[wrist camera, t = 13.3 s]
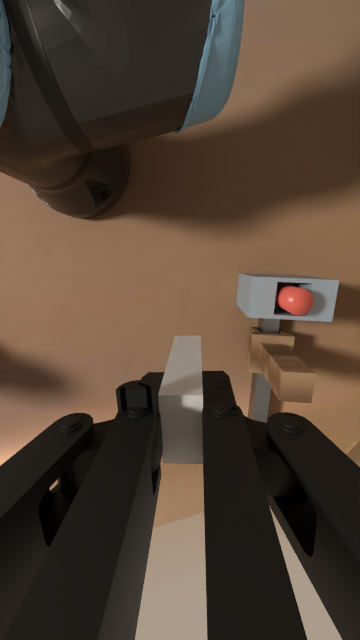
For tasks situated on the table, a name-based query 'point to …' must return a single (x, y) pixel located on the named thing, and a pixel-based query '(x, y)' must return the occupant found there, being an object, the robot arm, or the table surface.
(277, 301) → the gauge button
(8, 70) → the robot arm
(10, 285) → the table surface
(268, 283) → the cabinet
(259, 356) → the block
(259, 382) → the rail
